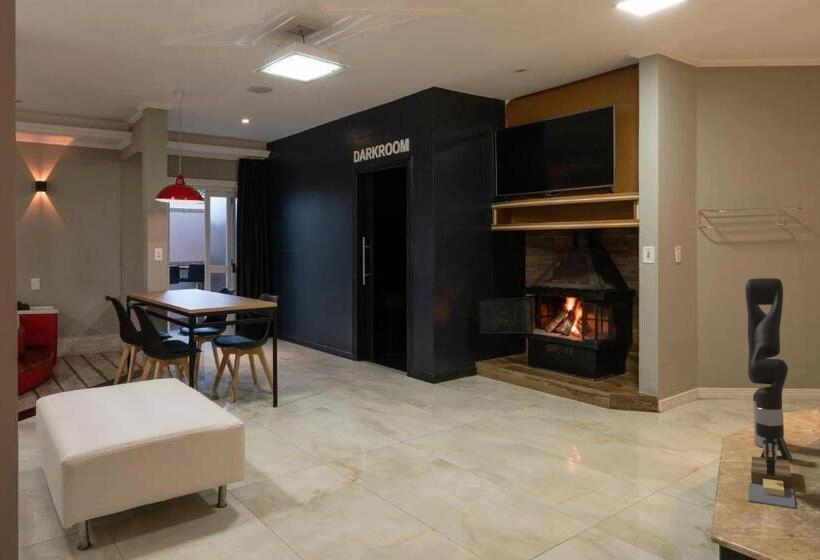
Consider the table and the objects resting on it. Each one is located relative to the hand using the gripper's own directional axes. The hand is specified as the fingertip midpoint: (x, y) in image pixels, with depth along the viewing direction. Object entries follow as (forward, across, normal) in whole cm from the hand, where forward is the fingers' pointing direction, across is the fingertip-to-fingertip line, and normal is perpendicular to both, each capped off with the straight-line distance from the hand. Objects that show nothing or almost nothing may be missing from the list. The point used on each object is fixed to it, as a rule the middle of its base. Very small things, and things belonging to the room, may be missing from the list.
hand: (771, 475), depth 186 cm
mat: (+5, +5, 0) cm, 7 cm away
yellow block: (+4, +2, 0) cm, 5 cm away
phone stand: (+5, -32, +2) cm, 32 cm away
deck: (+5, -11, 0) cm, 12 cm away
